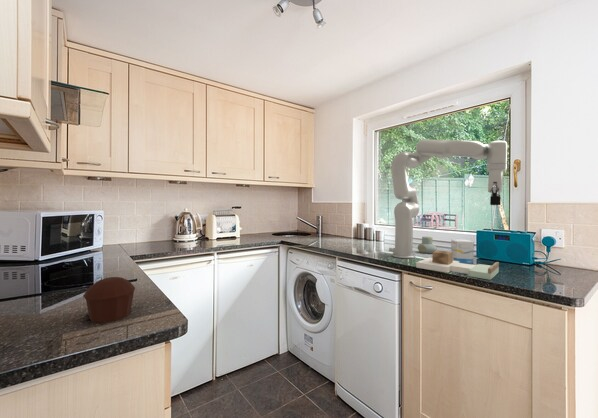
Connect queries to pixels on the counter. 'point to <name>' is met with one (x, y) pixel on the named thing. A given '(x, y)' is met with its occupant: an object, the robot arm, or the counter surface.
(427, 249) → the air freshener
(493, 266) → the platform
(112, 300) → the muffin
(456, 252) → the ink box
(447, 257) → the walnut block
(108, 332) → the counter surface
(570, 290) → the counter surface
